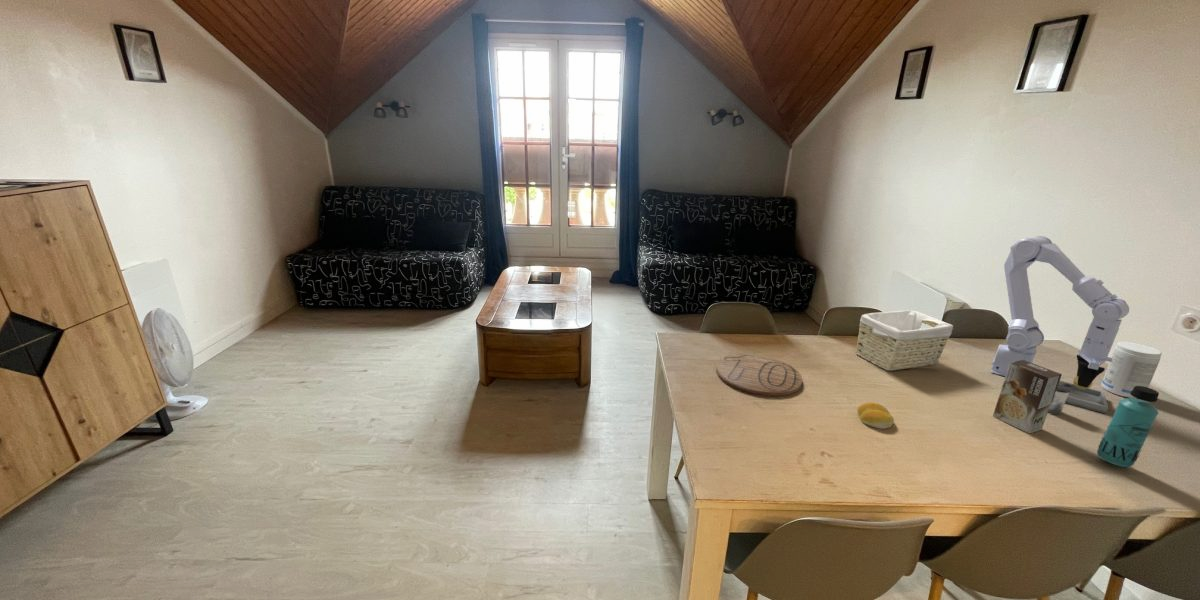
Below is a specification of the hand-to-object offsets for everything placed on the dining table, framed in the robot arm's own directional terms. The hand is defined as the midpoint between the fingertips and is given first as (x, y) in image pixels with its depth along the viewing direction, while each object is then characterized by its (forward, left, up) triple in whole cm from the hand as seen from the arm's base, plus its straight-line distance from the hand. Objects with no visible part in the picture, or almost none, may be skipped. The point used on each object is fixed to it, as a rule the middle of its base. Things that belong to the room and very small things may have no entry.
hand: (1081, 383), depth 146 cm
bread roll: (-42, -56, -5) cm, 70 cm away
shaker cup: (-6, -15, -5) cm, 17 cm away
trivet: (-75, -54, -6) cm, 93 cm away
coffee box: (-13, -30, -5) cm, 33 cm away
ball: (0, 0, 0) cm, 0 cm away
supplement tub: (+11, +16, -5) cm, 20 cm away
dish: (0, 0, -5) cm, 5 cm away
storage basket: (-46, -9, -5) cm, 47 cm away
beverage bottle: (+5, -37, -5) cm, 38 cm away
